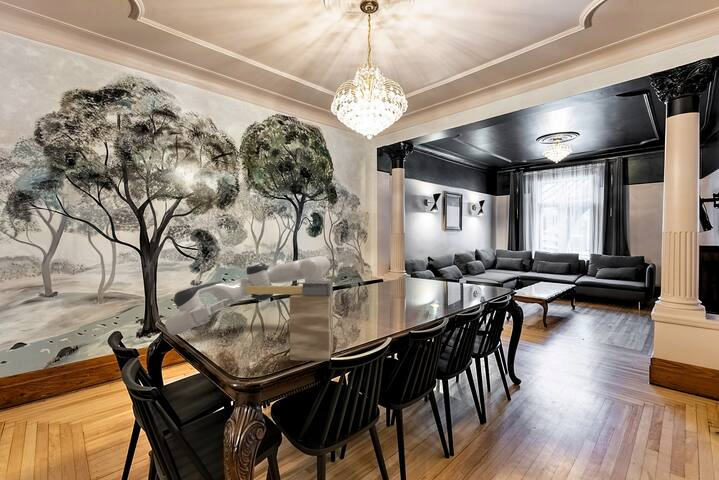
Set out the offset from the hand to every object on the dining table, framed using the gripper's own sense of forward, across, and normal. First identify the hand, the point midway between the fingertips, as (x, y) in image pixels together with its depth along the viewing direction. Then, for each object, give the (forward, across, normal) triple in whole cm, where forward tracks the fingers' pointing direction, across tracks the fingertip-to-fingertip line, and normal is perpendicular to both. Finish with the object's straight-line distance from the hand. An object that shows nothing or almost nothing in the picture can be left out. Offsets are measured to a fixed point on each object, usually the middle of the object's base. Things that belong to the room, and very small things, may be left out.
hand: (228, 301), depth 139 cm
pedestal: (+25, 0, -35) cm, 43 cm away
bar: (+20, 0, -5) cm, 21 cm away
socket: (+37, 0, -12) cm, 39 cm away
